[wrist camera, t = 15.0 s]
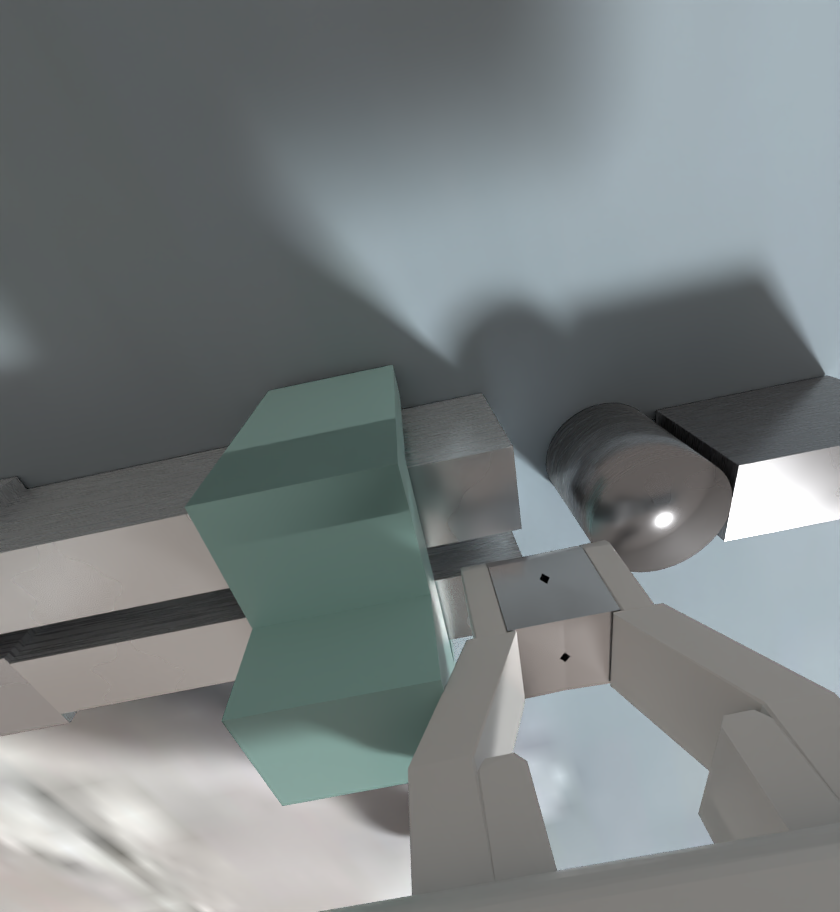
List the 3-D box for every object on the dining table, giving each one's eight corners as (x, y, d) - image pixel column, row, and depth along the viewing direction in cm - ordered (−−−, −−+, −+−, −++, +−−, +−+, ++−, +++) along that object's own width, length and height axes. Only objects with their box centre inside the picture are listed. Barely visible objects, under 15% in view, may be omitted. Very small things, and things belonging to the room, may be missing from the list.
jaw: (-59, 581, 12) (-180, 677, 10) (-131, 507, 11) (-294, 596, 8) (491, 467, 12) (522, 536, 9) (479, 377, 11) (511, 427, 8)
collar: (351, 607, 14) (327, 868, 8) (268, 390, 10) (126, 588, 5) (444, 589, 14) (484, 841, 8) (392, 364, 10) (400, 533, 4)
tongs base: (11, 650, 14) (-79, 751, 11) (-93, 545, 12) (-233, 639, 9) (794, 497, 13) (898, 565, 10) (832, 357, 11) (975, 397, 8)
